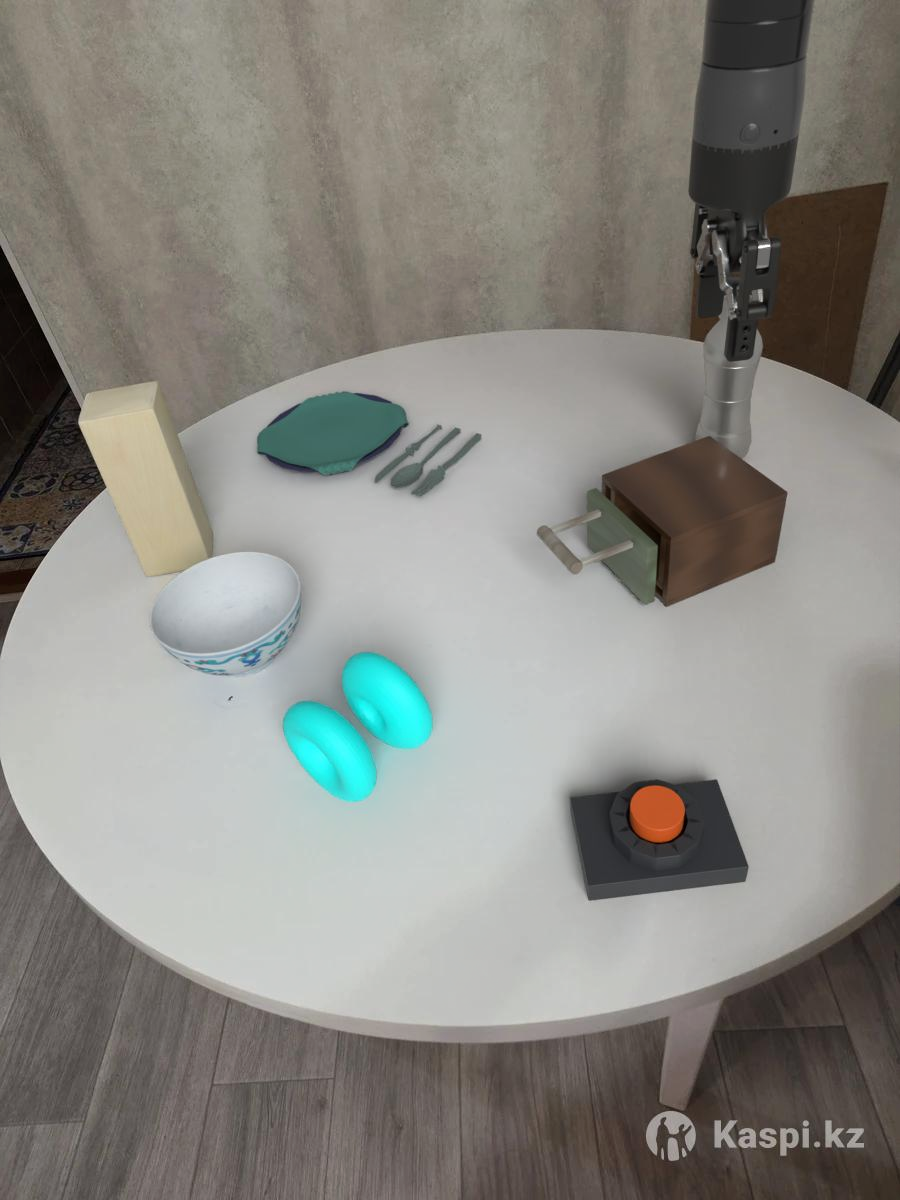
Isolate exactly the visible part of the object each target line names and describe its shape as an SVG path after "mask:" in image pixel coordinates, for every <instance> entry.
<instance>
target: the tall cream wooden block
mask: <svg viewBox="0 0 900 1200" xmlns="http://www.w3.org/2000/svg"><path fill="white" fill-rule="evenodd" d="M161 387H162V386H161V385H160V383H159V381H158V380H153V381H148V382H147V381H146V382H142V383H141V382H140V383H136V384H130V385H124V386H120V387H114V388H108V389H103V390H96V391H91V392H87V393H86V395H85V396H84V401H83V403H82V406H81V410H80V413H79V416H78V422H77V423H78V426H79V429H80V431H81V433H82V435H83V437H84V440H85V442H86V444H87V446H88V449H89V452H90V453H91V456H92V458H93V460H94V462H95V466H96V467H97V469H98V471H99V473H100V477H101V479H102V480H103V482H104V485H105V487H106V490H107V491H108V494H109V496H110V498H111V500H112V503H113V505H114V507H115V509H116V512H117V515H118V516H119V519H120V521H121V523H122V526H123V527H124V530H125V532H126V535H127V537H128V539H129V541H130V544H131V546H132V549H133V550H134V553H135V555H136V557H137V559H138V562H139V564H140V566H141V568H142V570H143V573H144V575H145V576H146V577H147V578H148V577H149V578H150V577H155V576H156V577H157V576H162V575H166V574H173V573H178V572H183V571H184V570H186V569H188V568H189V567H191V566H193V565H195V564H197V563H199V562H202V561H204V560H207V559H209V558H212V557H213V546H214V543H213V542H214V532H213V529H212V525H211V523H210V520H209V518H208V514H207V512H206V510H205V509H206V508H205V506H204V503H203V501H202V498H201V495H200V493H199V490H198V487H197V484H196V482H195V478H194V476H193V472H192V470H191V468H190V465H189V462H188V459H187V456H186V453H185V451H184V448H183V446H182V442H181V440H180V437H179V434H178V431H177V428H176V426H175V423H174V421H173V418H172V415H171V411H170V409H169V406H168V404H167V401H166V398H165V396H164V393H163V390H162V388H161Z"/></svg>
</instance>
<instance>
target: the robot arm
mask: <svg viewBox="0 0 900 1200" xmlns="http://www.w3.org/2000/svg"><path fill="white" fill-rule="evenodd" d="M814 8H815V0H706V4H705V13H704V26H703V40H702V53H701V62H700V63H701V64H700V70H699V77H698V80H697V81H698V82H697V87H696V92H695V99H694V108H693V109H694V110H693V121H692V123H693V124H692V136H691V147H690V149H691V150H690V163H689V177H688V189H687V190H688V192H687V193H688V196H689V198H690V200H691V201H692V202H693V203H694V212H693V214H694V215H693V224H692V234H691V244H690V249H689V250H690V251H689V253H690V256H691V259H692V260H695V259H696V260H695V264H694V268H695V271H696V274H698V279H697V290H696V301H695V314H696V315H697V317H698V318H699V319H709V318H717V317H718V316H719V315H720V314H721V313H722V309H723V300H724V296H725V294H726V295H727V302H728V315H729V316H728V322H727V331H726V340H725V349H724V356H725V358H726V359H727V361H729V362H735V361H743V360H748V359H750V358H751V357H752V356H753V353H754V346H755V339H756V332H757V330H758V323H759V320H762V319H763V320H764V319H770V318H771V319H772V317H773V315H774V311H775V310H774V308H775V300H776V292H777V285H778V276H779V269H780V268H779V267H780V261H781V253H782V245H783V244H782V238H781V237H780V236H772V237H769V236H768V228H767V224H766V212H767V211H768V210H769V209H770V208H771V207H772V206H773V205H776V204H779V203H780V202H782V201H783V200H785V199H786V198H787V197H788V196H789V194H790V192H791V189H792V184H793V183H792V182H793V176H794V169H795V164H796V163H795V162H796V156H797V150H798V143H799V142H798V141H799V137H800V129H801V123H802V116H803V111H804V110H803V109H804V103H805V97H806V95H805V94H806V78H807V77H806V73H807V72H806V71H807V70H806V69H807V58H808V57H807V54H808V52H809V51H808V49H809V44H810V37H811V30H812V23H813V15H814ZM734 274H739V275H734ZM750 295H751V296H752V301H749V296H750Z"/></svg>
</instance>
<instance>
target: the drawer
mask: <svg viewBox="0 0 900 1200" xmlns="http://www.w3.org/2000/svg"><path fill="white" fill-rule="evenodd" d="M585 523H586V545H587V547H588V548H589V549H591V550H592V552H593V553H592V554H590V555H587V556H585V557H583V558H580V559H579V558H578V557H577V556H576V555H575V553H573V552H572V551H571V549H569V548H568V546H567V545H566V544H565V543H564V542H563V541H562V540H561V539H560V538H559V536H558V535H556V534H558V533H561V532H563V531H566V530H569V529H572V528H574V527H576V526H579V525H582V524H585ZM536 536H537V537H538V538H539V539H540V541H541V542H542V543H543V544H544V545H545V546H546V547H547V548H548V549H549V551H550V552H552V554H553V555H554V556H555V557H556V558H557V559H558V560H559V562H560V563H561V564H562V565H563V566H564V567H565V568H566V570H568V571H569V572H570V574H572V575H578V574H580V573H581V572H582V570H583V568H584V567H586V566H589V565H591V564H594V563H596V562H600V561H602V562H603V563H604V564H605V565H606V566H607V567H608V568H609V569H610V570H611V571H612V572H613V574H615V576H616V577H618V579H619V580H620V581H621V582H622V583H623V584H624V586H626V587H627V588H628V589H629V590H630V591H631V592H632V593H633V594H634V595H635V597H637V598H638V600H639V601H640V602H641V603H642V604H644V606H645V605H649V604H650V603H653V602H655V601H656V600H655V599H656V596H655V586H656V585H657V586H658V587H659V588H660V589H661V590H663V580H664V565H665V550H666V539H665V538H664V537H663V536H661V535H660V534H659V533H658V532H657V531H656V530H655V529H654V528H653V527H652V526H651V525H649V524H648V523H647V522H646V521H645V520H644V519H643V518H642V517H641V516H640V515H639V514H637V513H636V512H635V511H634V510H633V509H632V508H631V507H630V506H629V505H628V504H626V503H625V502H624V501H623V500H622V499H621V498H620V497H619V496H618V495H617V494H616V493H614V492H613V491H612V490H611V501H610V500H609V499H608V498H607V497H605V496H604V495H603V494H602V491H600V490H599V489H598V488H597V487H595V488H592V489H590V490H587V491H586V513H585V514H581V515H579V516H577V517H573V518H570V519H568V520H566V521H562V522H560V523H558V524H555V525H553V526H548V525H546V524H544V525H541V526H539V527H538V528H537V530H536Z"/></svg>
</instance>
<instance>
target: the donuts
mask: <svg viewBox="0 0 900 1200" xmlns="http://www.w3.org/2000/svg"><path fill="white" fill-rule="evenodd" d="M341 687H342V692H343V694H344V698H345V700H346V702H347V704H348V706H349V708H350V710H351V711H352V712H353V714H354V716H355V717H356V718H357V719H358V721H359V722H360V723H361V724H362V726H363V727H364V728H365V729H367V730H368V731H369V732H370V734H372V735H373V736H374V737H376V738H377V739H378V740H380V741H381V742H383V743H385V744H386V745H389V746H391V747H393V748H396V749H402V750H414V749H416V748H419V747H421V746H423V745H424V744H425V743H426V742H427V741H428V740H429V739H430V736H431V735H432V731H433V728H434V727H433V726H434V719H433V714H432V713H433V712H432V710H431V707H430V705H429V702H428V700H427V698H426V696H425V695H424V693H423V691H422V690H421V688H420V687H419V686H418V684H417V683H416V682H415V680H414V679H413V678H412V677H411V675H410V674H409V673H408V672H406V671H405V670H404V669H403V668H402V667H401V666H400V665H398V664H397V663H396V662H394V661H393V660H392V659H390V658H388V657H386V656H385V655H382V654H380V653H377V652H373V651H372V652H371V651H362V652H358V653H356V654H354V655H352V656H351V657H350V658H348V659H347V661H346V662H345V664H344V666H343V668H342V673H341ZM282 730H283V734H284V739H285V741H286V743H287V745H288V747H289V749H290V750H291V752H292V754H293V755H294V757H295V759H296V760H297V761H298V763H299V764H300V765H301V767H302V768H303V769H304V770H305V772H306V773H307V774H308V775H309V777H311V778H312V779H313V780H314V781H315V782H316V783H317V784H318V785H319V786H320V787H321V788H323V789H324V790H325V791H326V792H327V793H329V794H330V795H332V796H333V797H335V798H338V799H339V800H341V801H345V802H349V803H351V802H352V803H357V802H360V801H364V800H365V799H367V798H368V797H369V796H370V795H371V794H372V792H373V791H374V790H375V787H376V784H377V778H378V777H377V766H376V762H375V759H374V756H373V753H372V751H371V749H370V747H369V746H368V743H367V742H366V740H365V739H364V737H363V736H362V735H361V734H360V733H359V731H358V730H357V729H356V728H355V727H354V725H353V724H352V723H351V722H350V721H349V720H348V719H347V718H346V717H345V716H343V715H342V714H341V713H340V712H338V711H337V710H335V709H333V707H330V706H328V705H326V704H324V703H322V702H319V701H314V700H302V701H298V702H296V703H294V704H292V705H291V706H290V707H289V708H287V710H286V712H285V714H284V716H283V719H282Z"/></svg>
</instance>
